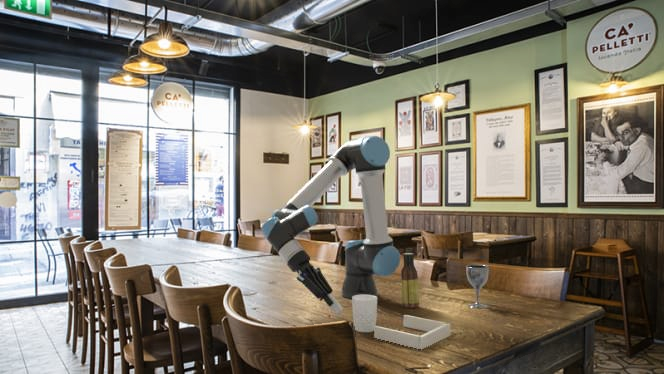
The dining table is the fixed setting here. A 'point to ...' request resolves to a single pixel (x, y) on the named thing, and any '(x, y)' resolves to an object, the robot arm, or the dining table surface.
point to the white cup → (364, 312)
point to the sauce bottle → (409, 282)
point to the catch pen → (433, 335)
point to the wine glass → (477, 281)
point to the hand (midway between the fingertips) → (339, 312)
